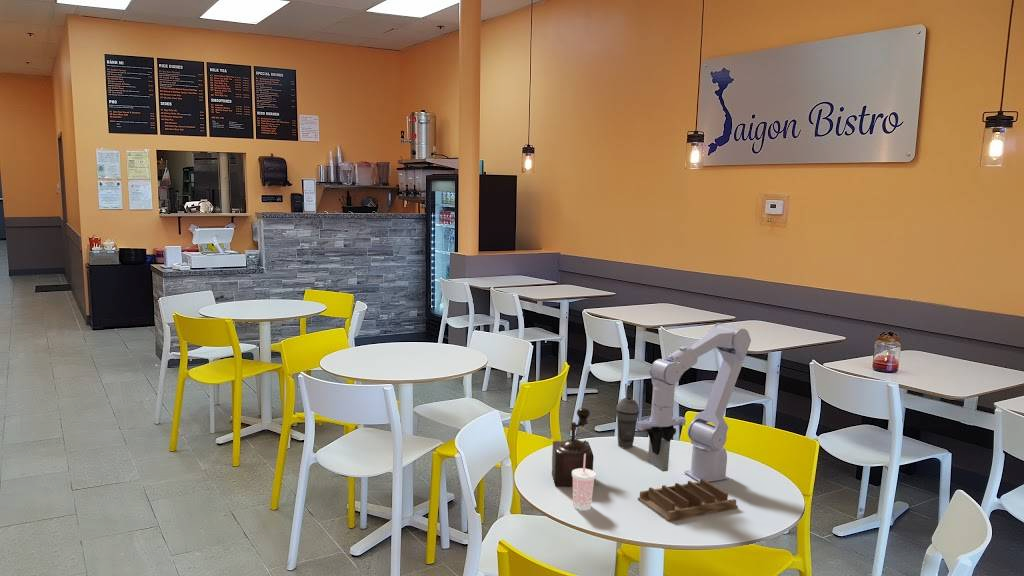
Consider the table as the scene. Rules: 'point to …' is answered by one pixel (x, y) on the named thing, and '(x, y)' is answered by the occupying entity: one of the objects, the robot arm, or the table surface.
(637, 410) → the beverage cup
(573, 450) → the coffee grinder
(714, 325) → the robot arm
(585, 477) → the beverage cup
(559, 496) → the table surface
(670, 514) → the dish rack
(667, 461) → the grey upright slab
